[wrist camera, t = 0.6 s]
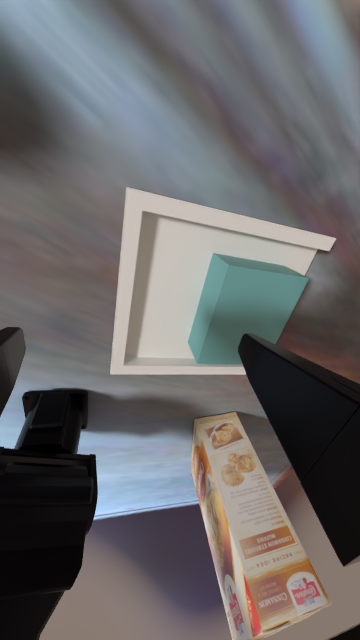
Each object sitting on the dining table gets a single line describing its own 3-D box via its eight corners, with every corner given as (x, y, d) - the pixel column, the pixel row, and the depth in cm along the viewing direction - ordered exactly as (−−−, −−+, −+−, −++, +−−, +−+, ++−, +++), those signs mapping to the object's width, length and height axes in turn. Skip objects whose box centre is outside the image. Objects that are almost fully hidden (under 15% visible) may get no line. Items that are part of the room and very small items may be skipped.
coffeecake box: (193, 418, 34) (261, 637, 17) (237, 409, 35) (337, 605, 19) (188, 468, 41) (233, 653, 25) (224, 460, 43) (288, 629, 27)
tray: (256, 363, 30) (264, 374, 29) (110, 361, 25) (110, 374, 23) (320, 234, 22) (336, 238, 21) (126, 186, 17) (127, 187, 15)
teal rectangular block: (249, 344, 27) (265, 364, 24) (187, 342, 25) (196, 363, 22) (284, 265, 23) (309, 278, 20) (212, 252, 20) (228, 264, 17)
